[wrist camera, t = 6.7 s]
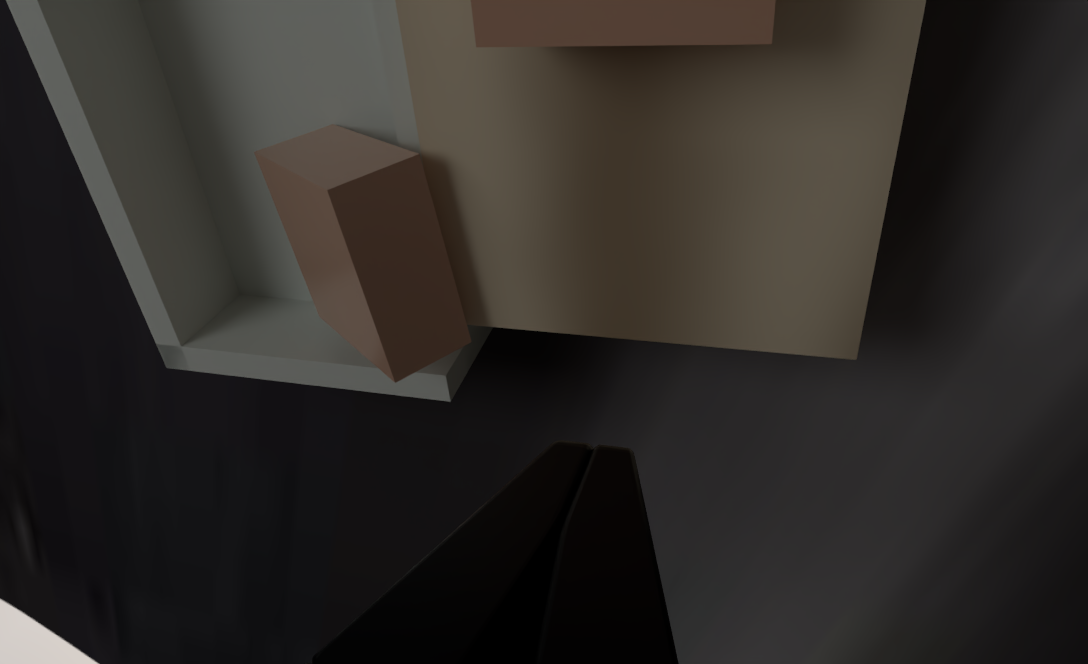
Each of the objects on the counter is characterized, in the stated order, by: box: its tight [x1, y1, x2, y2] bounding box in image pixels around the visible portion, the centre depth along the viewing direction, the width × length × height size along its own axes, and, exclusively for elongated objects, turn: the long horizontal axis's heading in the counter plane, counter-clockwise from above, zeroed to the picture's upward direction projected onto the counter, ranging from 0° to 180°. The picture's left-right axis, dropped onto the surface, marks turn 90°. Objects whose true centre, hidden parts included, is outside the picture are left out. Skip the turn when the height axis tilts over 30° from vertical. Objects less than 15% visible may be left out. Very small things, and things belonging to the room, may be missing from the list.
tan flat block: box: [395, 0, 926, 360], centre depth 15 cm, size 9×12×3 cm
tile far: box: [254, 124, 472, 383], centre depth 17 cm, size 4×4×2 cm
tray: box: [6, 0, 493, 402], centre depth 17 cm, size 8×15×4 cm, turn 4°
